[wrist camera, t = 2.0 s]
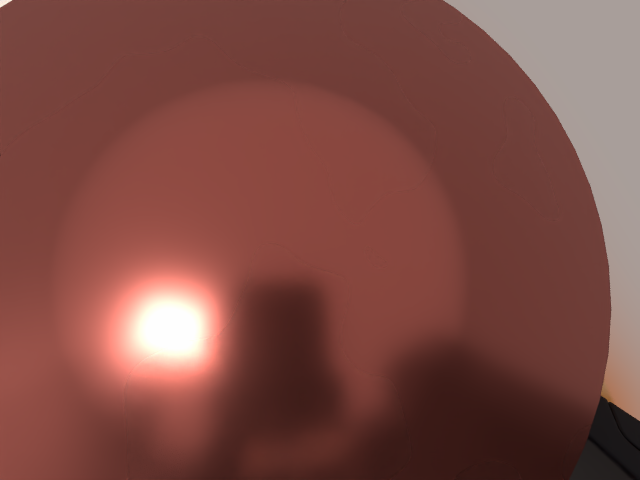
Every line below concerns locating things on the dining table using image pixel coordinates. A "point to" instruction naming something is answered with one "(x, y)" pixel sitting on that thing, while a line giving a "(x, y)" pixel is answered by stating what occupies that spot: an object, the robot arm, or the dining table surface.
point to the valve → (288, 247)
